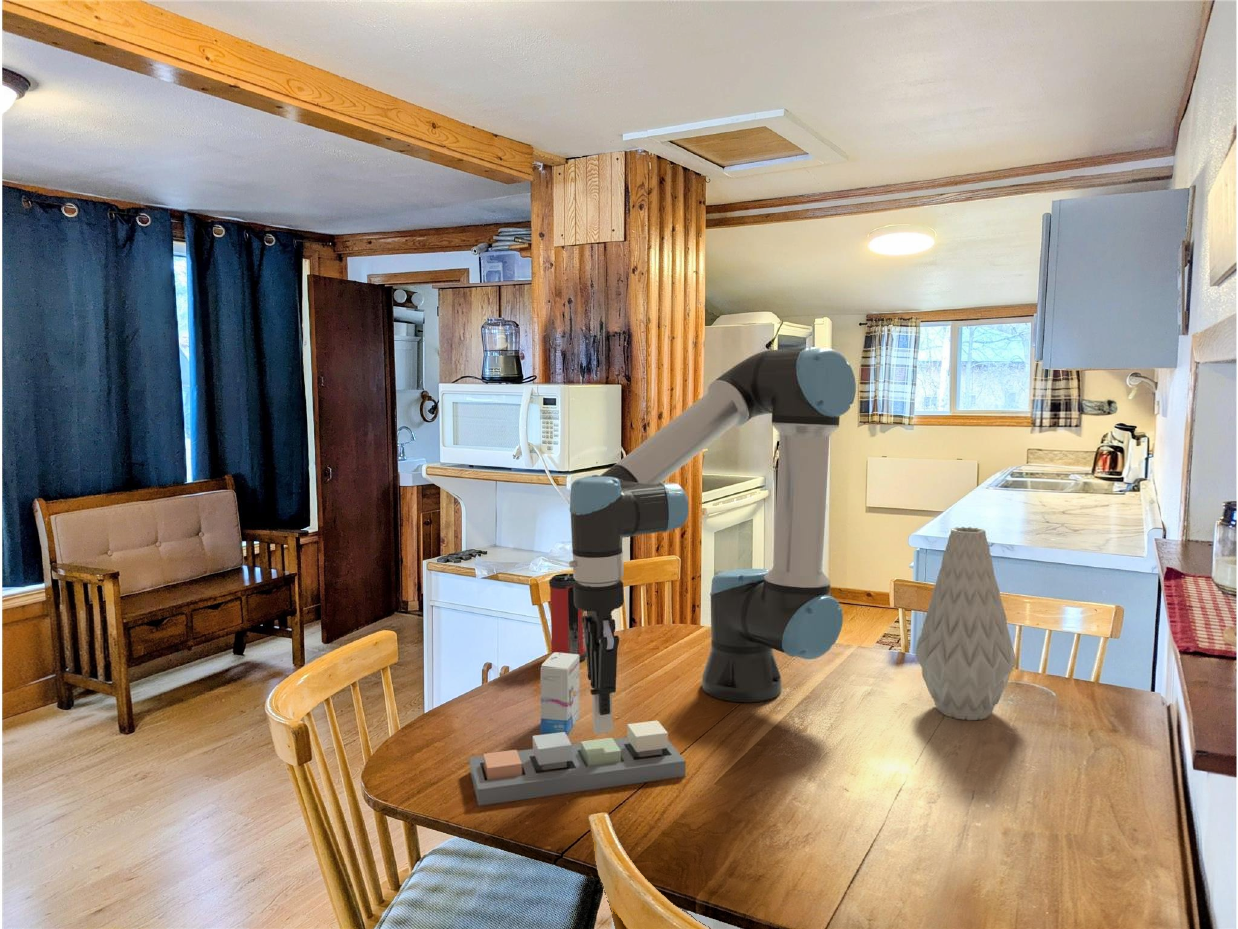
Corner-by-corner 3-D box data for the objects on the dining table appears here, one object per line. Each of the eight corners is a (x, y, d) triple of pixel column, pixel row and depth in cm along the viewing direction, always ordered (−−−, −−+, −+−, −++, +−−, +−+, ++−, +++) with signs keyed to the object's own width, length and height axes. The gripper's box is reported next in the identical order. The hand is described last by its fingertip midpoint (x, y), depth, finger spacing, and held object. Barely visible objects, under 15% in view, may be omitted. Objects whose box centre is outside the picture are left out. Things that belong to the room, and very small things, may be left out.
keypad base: (662, 746, 140) (662, 732, 140) (685, 776, 130) (685, 760, 129) (470, 772, 132) (469, 757, 132) (478, 805, 121) (477, 789, 121)
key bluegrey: (565, 754, 133) (564, 731, 132) (572, 768, 128) (571, 745, 127) (533, 758, 131) (532, 735, 131) (538, 772, 126) (538, 749, 126)
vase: (960, 688, 165) (964, 518, 162) (1035, 718, 150) (1041, 532, 147) (893, 703, 158) (896, 526, 154) (964, 736, 143) (970, 541, 140)
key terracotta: (517, 772, 131) (516, 749, 130) (522, 787, 126) (521, 763, 126) (483, 776, 129) (483, 753, 129) (488, 792, 125) (487, 768, 124)
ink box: (568, 736, 145) (567, 668, 144) (539, 734, 146) (538, 666, 145) (580, 717, 153) (579, 652, 152) (553, 715, 154) (552, 650, 153)
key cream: (657, 742, 137) (657, 720, 136) (667, 755, 132) (667, 732, 132) (627, 746, 135) (627, 724, 135) (636, 759, 131) (636, 736, 130)
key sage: (612, 759, 135) (611, 737, 134) (620, 773, 130) (620, 750, 130) (581, 763, 133) (580, 741, 133) (588, 778, 129) (588, 754, 128)
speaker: (554, 652, 190) (552, 572, 188) (588, 653, 189) (587, 572, 187) (547, 663, 182) (545, 580, 180) (583, 664, 181) (582, 580, 179)
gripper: (564, 573, 134) (569, 718, 137) (583, 593, 122) (589, 753, 124) (611, 569, 136) (615, 712, 139) (634, 588, 124) (639, 745, 126)
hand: (603, 731), depth 131 cm, fingers closed
